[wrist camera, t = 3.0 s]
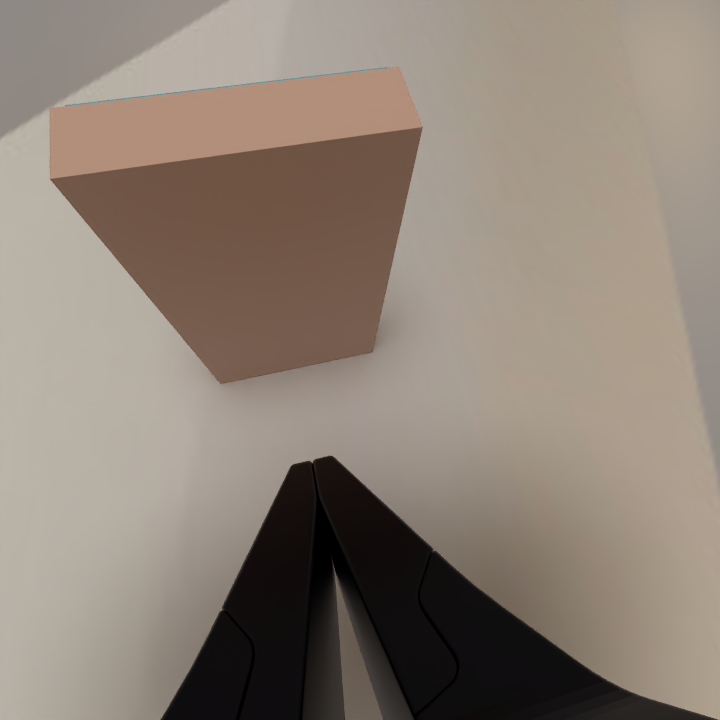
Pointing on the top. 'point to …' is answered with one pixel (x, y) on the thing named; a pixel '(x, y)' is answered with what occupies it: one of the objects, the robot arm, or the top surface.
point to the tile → (250, 209)
